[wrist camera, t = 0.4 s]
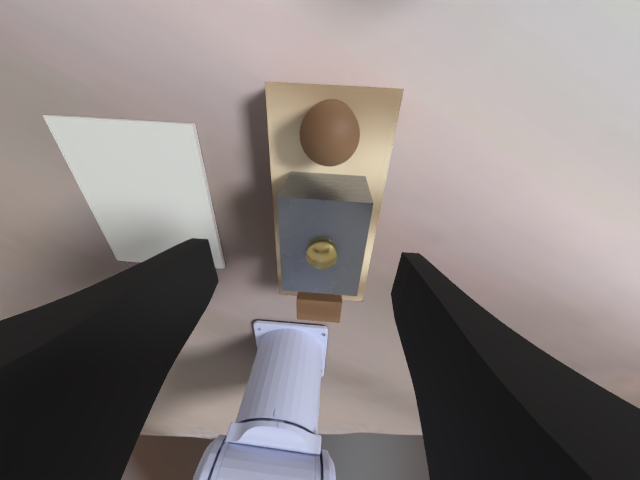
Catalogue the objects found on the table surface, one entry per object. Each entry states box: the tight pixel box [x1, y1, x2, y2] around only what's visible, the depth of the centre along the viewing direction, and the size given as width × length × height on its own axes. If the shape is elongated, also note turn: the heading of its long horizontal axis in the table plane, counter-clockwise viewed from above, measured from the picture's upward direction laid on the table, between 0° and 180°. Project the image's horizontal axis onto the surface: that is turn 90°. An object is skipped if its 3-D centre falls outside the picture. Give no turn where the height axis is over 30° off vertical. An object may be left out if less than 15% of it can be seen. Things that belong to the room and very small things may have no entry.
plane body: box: [265, 82, 404, 323], centre depth 16 cm, size 15×7×6 cm, turn 177°
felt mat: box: [43, 115, 225, 269], centre depth 19 cm, size 12×10×1 cm
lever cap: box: [277, 171, 373, 296], centre depth 14 cm, size 6×4×4 cm
